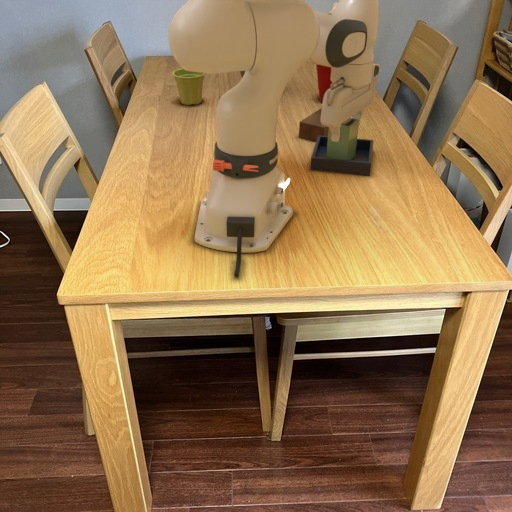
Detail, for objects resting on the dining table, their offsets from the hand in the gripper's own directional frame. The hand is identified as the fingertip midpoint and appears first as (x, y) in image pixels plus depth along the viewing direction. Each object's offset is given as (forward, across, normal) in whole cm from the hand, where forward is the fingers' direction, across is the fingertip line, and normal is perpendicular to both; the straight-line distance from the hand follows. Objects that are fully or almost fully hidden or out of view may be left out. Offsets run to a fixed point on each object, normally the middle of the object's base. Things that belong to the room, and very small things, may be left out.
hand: (345, 133), depth 127 cm
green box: (+5, 0, +4) cm, 7 cm away
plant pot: (+6, +11, +55) cm, 57 cm away
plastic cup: (+7, +36, +22) cm, 43 cm away
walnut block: (+7, +12, +12) cm, 19 cm away
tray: (+7, 0, 0) cm, 7 cm away
